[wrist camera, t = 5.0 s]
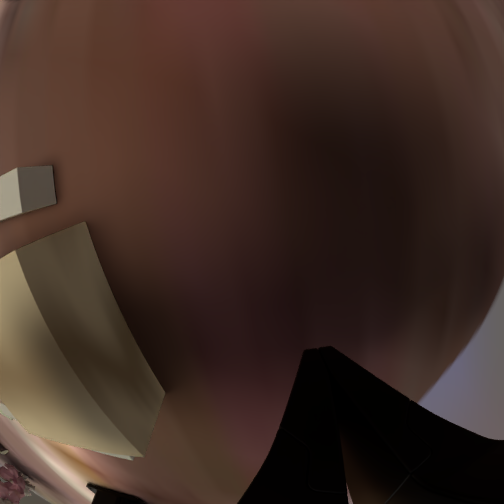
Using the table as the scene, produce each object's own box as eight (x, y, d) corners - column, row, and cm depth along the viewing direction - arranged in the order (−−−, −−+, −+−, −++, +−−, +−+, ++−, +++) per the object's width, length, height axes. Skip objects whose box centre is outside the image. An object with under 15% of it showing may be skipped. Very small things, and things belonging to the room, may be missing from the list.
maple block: (166, 388, 11) (144, 457, 7) (58, 389, 11) (28, 433, 8) (89, 219, 9) (14, 250, 5) (-7, 268, 9) (-56, 296, 5)
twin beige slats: (142, 433, 12) (133, 460, 10) (16, 399, 12) (4, 414, 10) (52, 165, 8) (17, 167, 6) (-53, 219, 8) (-73, 226, 6)
